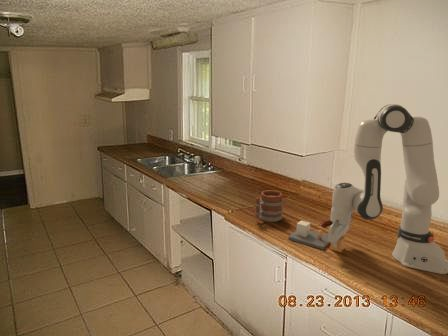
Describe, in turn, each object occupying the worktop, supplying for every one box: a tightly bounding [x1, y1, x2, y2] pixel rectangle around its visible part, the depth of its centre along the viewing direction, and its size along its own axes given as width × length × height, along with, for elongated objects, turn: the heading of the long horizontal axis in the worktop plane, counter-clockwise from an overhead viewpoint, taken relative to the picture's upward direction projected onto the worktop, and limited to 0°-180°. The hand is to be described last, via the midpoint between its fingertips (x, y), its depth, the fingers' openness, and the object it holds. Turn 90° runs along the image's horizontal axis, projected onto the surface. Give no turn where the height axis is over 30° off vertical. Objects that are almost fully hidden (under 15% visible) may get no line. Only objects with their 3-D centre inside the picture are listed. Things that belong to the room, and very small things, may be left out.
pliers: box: [321, 219, 333, 228], centre depth 189 cm, size 11×20×3 cm, turn 142°
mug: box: [254, 189, 284, 223], centre depth 193 cm, size 14×19×15 cm
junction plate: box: [287, 220, 331, 250], centre depth 168 cm, size 18×14×8 cm
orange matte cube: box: [329, 235, 346, 253], centre depth 159 cm, size 5×5×6 cm
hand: (337, 244), depth 159 cm, fingers closed on orange matte cube, 5 cm apart
